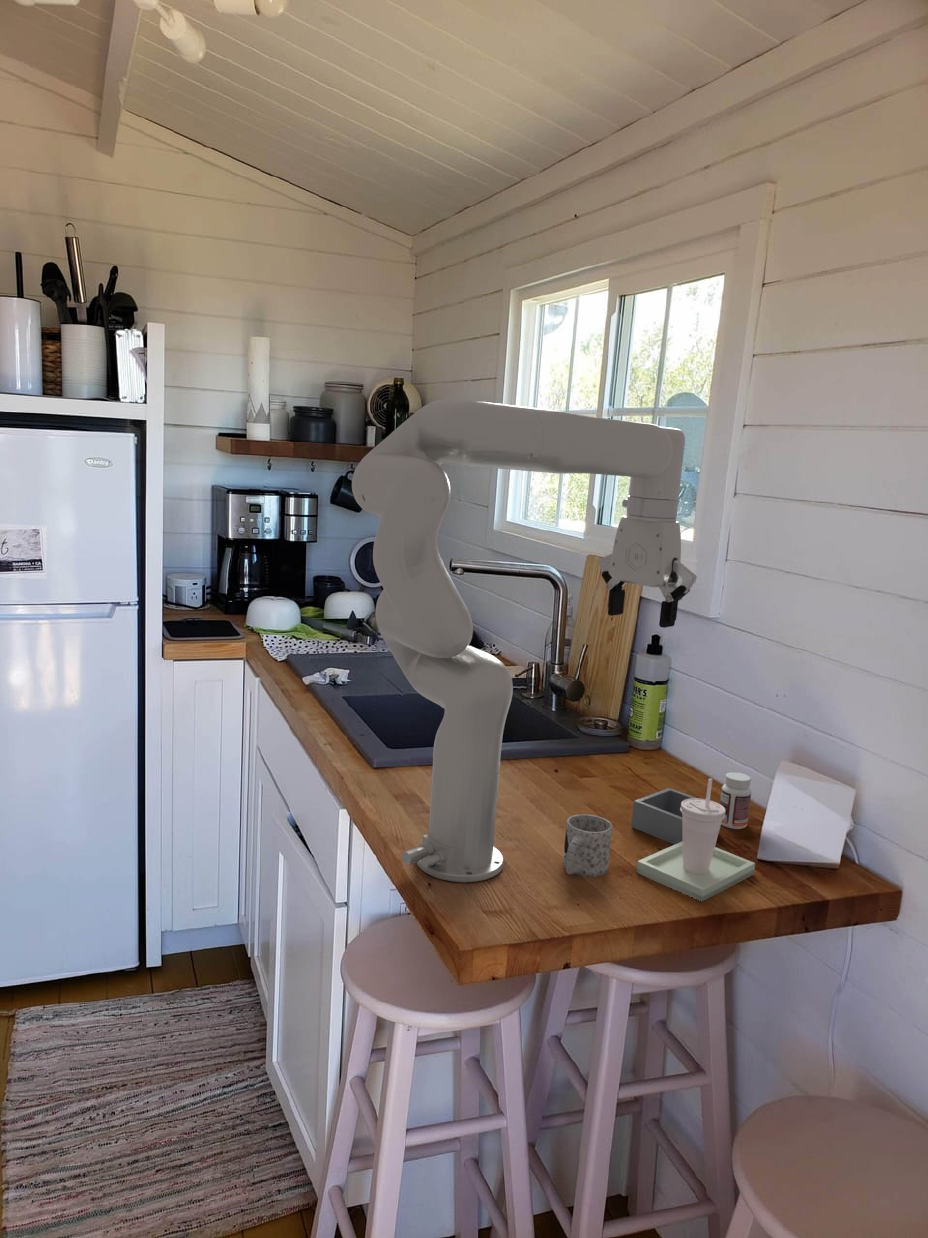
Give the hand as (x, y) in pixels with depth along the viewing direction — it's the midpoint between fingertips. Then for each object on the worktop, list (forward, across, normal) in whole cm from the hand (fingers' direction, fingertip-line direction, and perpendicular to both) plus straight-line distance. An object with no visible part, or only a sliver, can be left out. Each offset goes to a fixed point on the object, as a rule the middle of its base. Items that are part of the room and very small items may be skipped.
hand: (640, 620), depth 149 cm
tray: (+34, +17, -4) cm, 38 cm away
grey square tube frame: (+34, +6, +7) cm, 36 cm away
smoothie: (+34, +17, -4) cm, 38 cm away
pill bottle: (+34, +10, +18) cm, 40 cm away
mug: (+35, +6, -17) cm, 39 cm away
